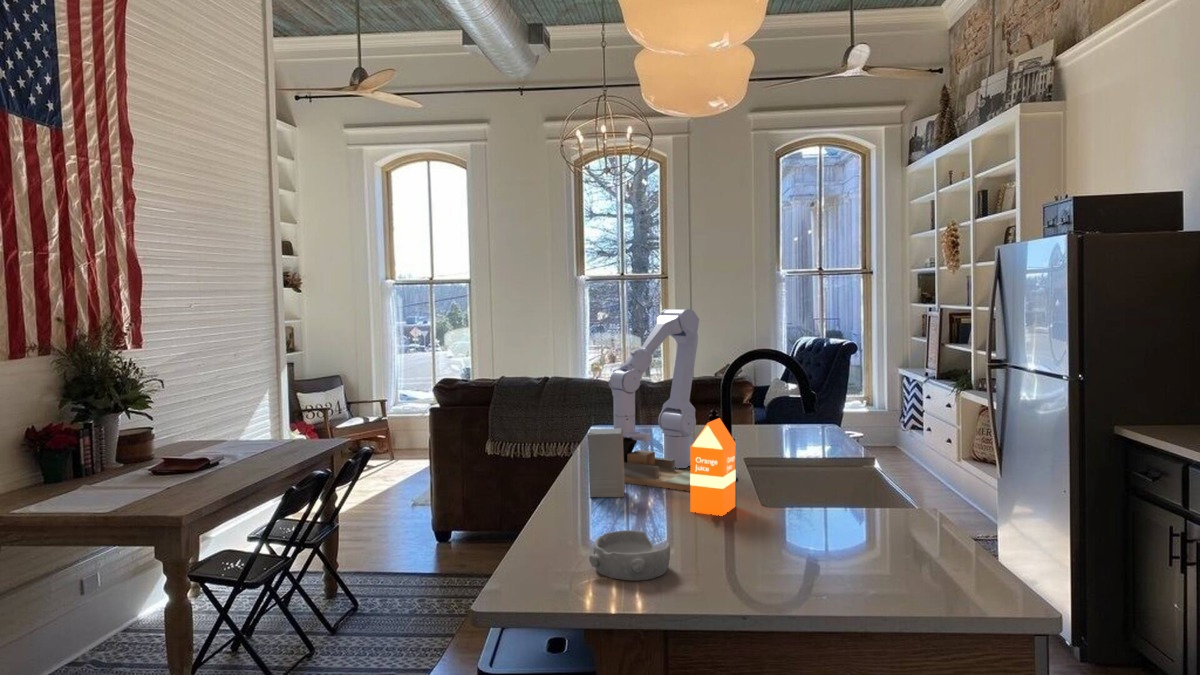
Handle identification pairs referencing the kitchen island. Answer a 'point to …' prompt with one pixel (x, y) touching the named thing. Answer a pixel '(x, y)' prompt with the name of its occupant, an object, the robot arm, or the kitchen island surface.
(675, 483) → the chute board
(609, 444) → the skincare box
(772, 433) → the kitchen island surface
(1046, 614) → the kitchen island surface
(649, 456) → the walnut block
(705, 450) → the orange juice
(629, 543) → the dish
